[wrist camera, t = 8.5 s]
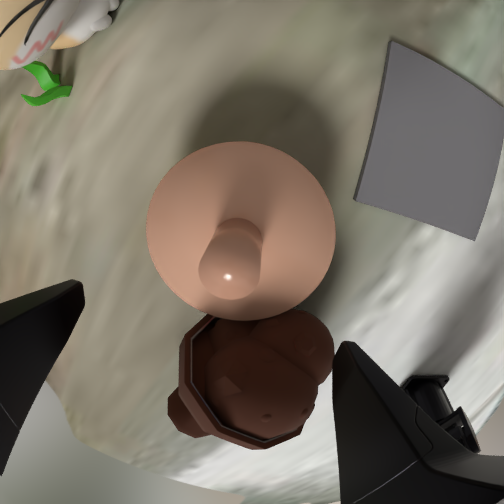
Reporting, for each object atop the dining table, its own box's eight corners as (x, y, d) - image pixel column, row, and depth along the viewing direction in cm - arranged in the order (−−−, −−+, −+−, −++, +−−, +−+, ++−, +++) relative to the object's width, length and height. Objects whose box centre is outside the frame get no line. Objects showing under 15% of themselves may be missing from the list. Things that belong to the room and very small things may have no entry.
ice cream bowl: (160, 341, 27) (247, 236, 19) (250, 391, 29) (359, 317, 22) (118, 430, 17) (206, 362, 10) (234, 478, 20) (377, 437, 12)
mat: (503, 111, 14) (507, 111, 14) (470, 238, 19) (474, 241, 18) (388, 42, 14) (391, 40, 13) (353, 198, 19) (355, 200, 18)
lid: (354, 166, 14) (384, 180, 10) (304, 325, 18) (311, 374, 14) (161, 128, 14) (123, 130, 10) (149, 293, 18) (121, 335, 14)
